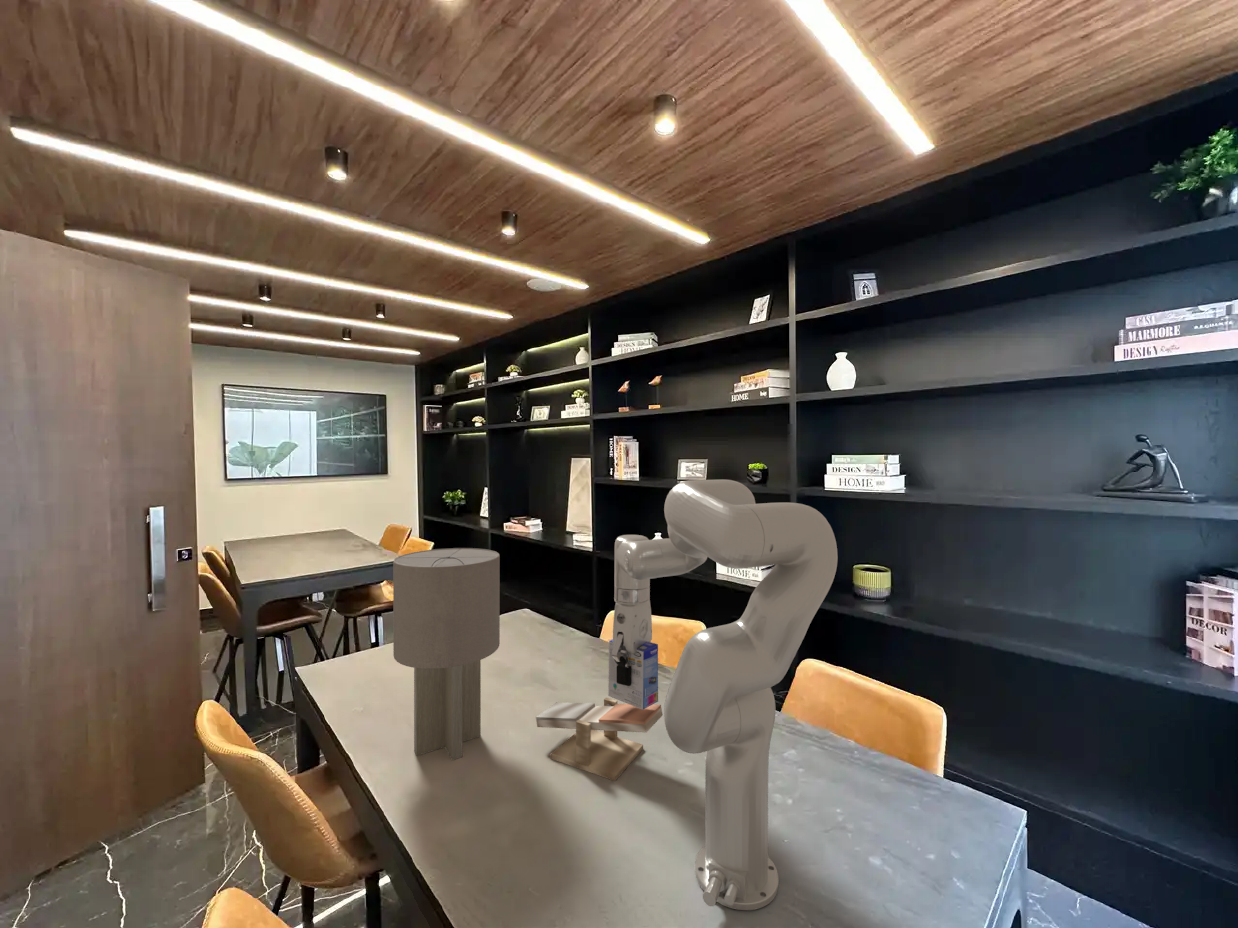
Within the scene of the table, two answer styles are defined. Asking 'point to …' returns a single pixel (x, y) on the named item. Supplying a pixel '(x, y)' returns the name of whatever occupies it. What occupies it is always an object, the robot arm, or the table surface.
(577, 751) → the stand
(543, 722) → the beam
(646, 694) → the ink cartridge box
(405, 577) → the lamp
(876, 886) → the table surface
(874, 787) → the table surface
